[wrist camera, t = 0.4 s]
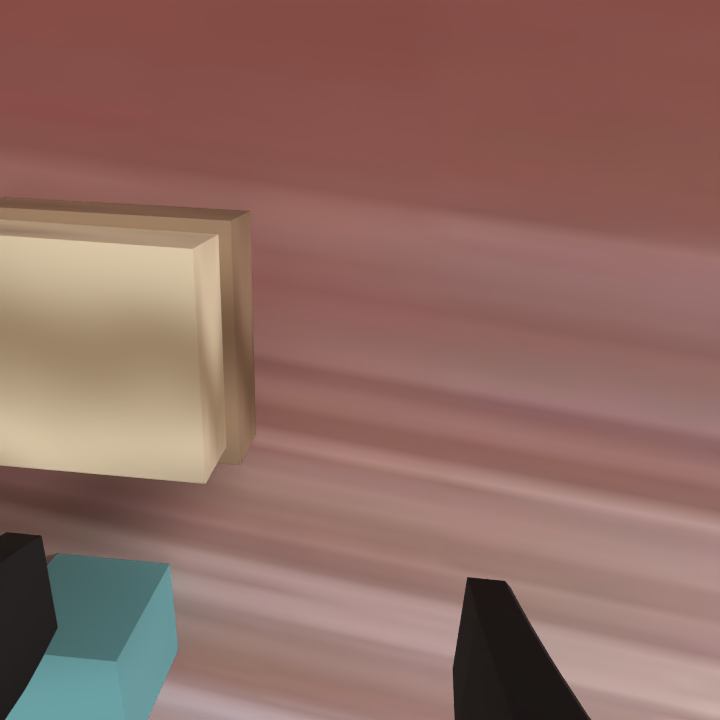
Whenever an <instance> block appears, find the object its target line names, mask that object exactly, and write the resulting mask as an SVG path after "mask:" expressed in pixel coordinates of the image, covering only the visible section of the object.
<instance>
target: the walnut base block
mask: <svg viewBox="0 0 720 720" xmlns="http://www.w3.org/2000/svg"><path fill="white" fill-rule="evenodd" d="M0 219H2V220H17V221H31V222H46V223H60V224H75V225H89V226H104V227H118V228H133V229H147V230H162V231H176V232H191V233H205V234H218V238H219V264H220V291H221V317H222V344H223V371H224V398H225V425H226V448H225V450H224V452H223V454H222V455H221V457H220V459H219V461H218V463H217V464H228V465H241V463H242V461H243V459H244V457H245V455H246V453H247V451H248V449H249V447H250V445H251V443H252V441H253V439H254V437H255V435H256V420H255V381H254V342H253V303H252V265H251V226H250V211H241V210H223V209H206V208H188V207H170V206H152V205H135V204H117V203H99V202H81V201H64V200H46V199H28V198H11V197H4V198H0Z"/></svg>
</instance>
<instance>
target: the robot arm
mask: <svg viewBox="0 0 720 720" xmlns="http://www.w3.org/2000/svg"><path fill="white" fill-rule="evenodd" d="M57 628H58V625H57V619H56V614H55V608H54V603H53V597H52V591H51V586H50V580H49V575H48V569H47V564H46V558H45V553H44V547H43V541H42V536H39V535H29V534H19V533H8V532H7V533H5V534H3V535H1V536H0V720H5V719H6V718H7V716H8V715H9V713H10V712H11V710H12V709H13V707H14V706H15V704H16V703H17V701H18V700H19V698H20V697H21V695H22V694H23V692H24V691H25V689H26V687H27V686H28V684H29V682H30V680H31V678H32V676H33V675H34V673H35V671H36V669H37V667H38V666H39V664H40V662H41V660H42V658H43V656H44V654H45V652H46V650H47V648H48V646H49V644H50V642H51V640H52V638H53V636H54V634H55V632H56V630H57ZM453 689H454V713H455V720H591V719H590V717H589V716H588V715H587V713H586V712H585V710H584V709H583V707H582V705H581V704H580V702H579V701H578V699H577V698H576V696H575V695H574V693H573V692H572V690H571V689H570V687H569V686H568V684H567V683H566V681H565V679H564V678H563V676H562V675H561V673H560V672H559V670H558V669H557V667H556V665H555V664H554V662H553V661H552V659H551V657H550V656H549V654H548V652H547V651H546V649H545V647H544V646H543V644H542V642H541V641H540V639H539V637H538V636H537V634H536V632H535V631H534V629H533V627H532V625H531V624H530V622H529V620H528V618H527V617H526V615H525V613H524V611H523V610H522V608H521V606H520V604H519V602H518V601H517V599H516V597H515V595H514V593H513V591H512V589H511V588H510V586H509V585H508V584H507V583H506V582H505V581H500V580H489V579H479V578H469V577H467V583H466V589H465V595H464V602H463V608H462V614H461V620H460V627H459V633H458V639H457V646H456V652H455V658H454V665H453Z"/></svg>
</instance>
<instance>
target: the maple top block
mask: <svg viewBox="0 0 720 720" xmlns="http://www.w3.org/2000/svg"><path fill="white" fill-rule="evenodd" d="M225 448H226V425H225V398H224V371H223V344H222V317H221V291H220V264H219V238H218V234H205V233H191V232H176V231H162V230H147V229H133V228H118V227H104V226H89V225H75V224H60V223H46V222H31V221H17V220H2V219H0V465H2V466H14V467H25V468H36V469H47V470H58V471H69V472H80V473H91V474H103V475H114V476H125V477H136V478H147V479H158V480H169V481H181V482H192V483H203V484H206V482H207V480H208V479H209V477H210V475H211V473H212V471H213V470H214V468H215V466H216V464H217V463H218V461H219V459H220V457H221V455H222V454H223V452H224V450H225Z"/></svg>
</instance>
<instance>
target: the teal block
mask: <svg viewBox="0 0 720 720" xmlns="http://www.w3.org/2000/svg"><path fill="white" fill-rule="evenodd" d="M47 569H48V575H49V580H50V586H51V591H52V597H53V603H54V608H55V614H56V619H57V625H58V628H57V630H56V632H55V634H54V636H53V638H52V640H51V642H50V644H49V646H48V648H47V650H46V652H45V654H44V656H43V658H42V660H41V662H40V664H39V666H38V667H37V669H36V671H35V673H34V675H33V676H32V678H31V680H30V682H29V684H28V686H27V687H26V689H25V691H24V692H23V694H22V695H21V697H20V698H19V700H18V701H17V703H16V704H15V706H14V707H13V709H12V710H11V712H10V713H9V715H8V716H7V718H6V719H5V720H147V719H148V717H149V715H150V713H151V710H152V708H153V706H154V704H155V701H156V699H157V697H158V694H159V692H160V690H161V688H162V685H163V683H164V681H165V679H166V676H167V674H168V672H169V669H170V667H171V665H172V663H173V660H174V658H175V656H176V653H177V651H178V644H177V633H176V623H175V613H174V603H173V593H172V582H171V572H170V564H166V563H155V562H144V561H133V560H122V559H110V558H99V557H88V556H77V555H66V554H56V555H55V557H54V558H53V559H52V560H51V561H50V563H49V564H48V565H47Z"/></svg>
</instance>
